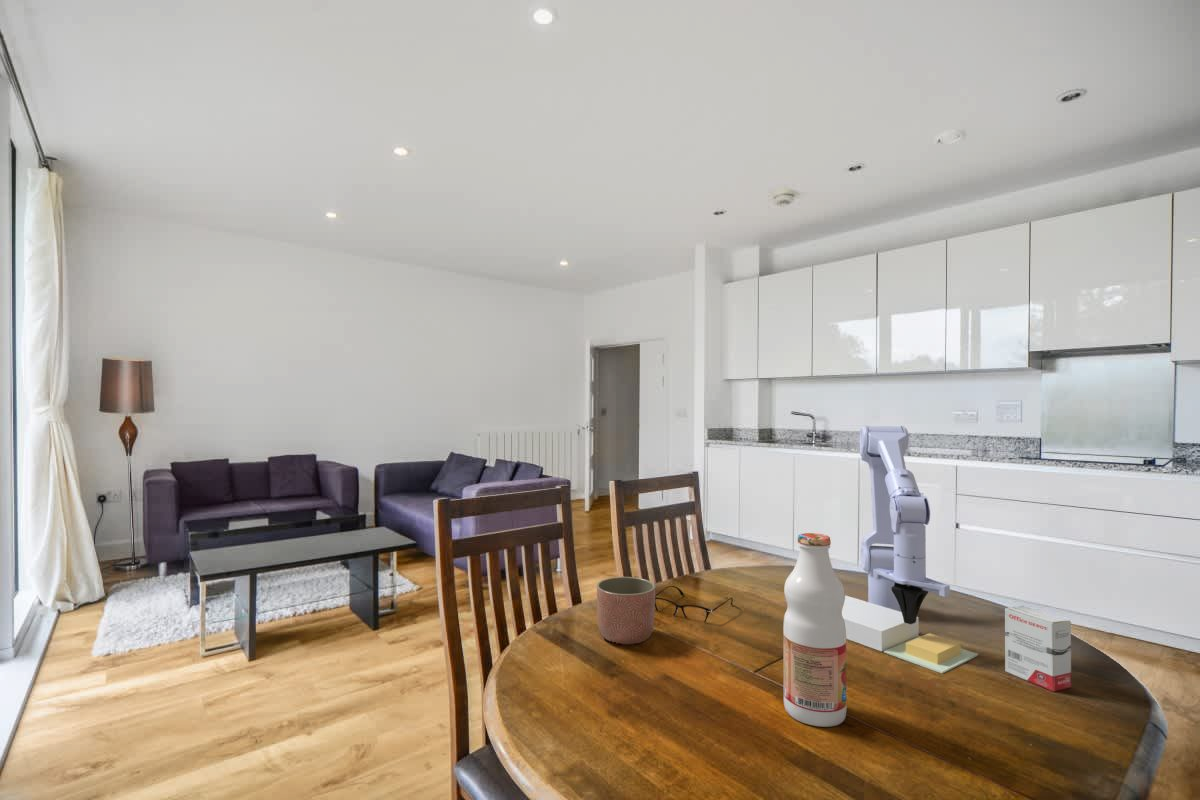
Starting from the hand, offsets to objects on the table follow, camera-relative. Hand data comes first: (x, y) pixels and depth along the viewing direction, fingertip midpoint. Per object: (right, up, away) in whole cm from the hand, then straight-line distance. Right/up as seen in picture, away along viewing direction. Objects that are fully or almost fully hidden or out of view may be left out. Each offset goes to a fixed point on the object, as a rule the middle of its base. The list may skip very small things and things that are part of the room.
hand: (909, 622), depth 118 cm
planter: (-57, -5, +5) cm, 58 cm away
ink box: (+15, -5, -14) cm, 21 cm away
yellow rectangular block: (+3, -3, -4) cm, 5 cm away
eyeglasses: (-40, -6, +22) cm, 46 cm away
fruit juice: (-29, -5, -25) cm, 39 cm away
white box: (-7, -5, +11) cm, 14 cm away
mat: (+2, -5, -3) cm, 6 cm away
